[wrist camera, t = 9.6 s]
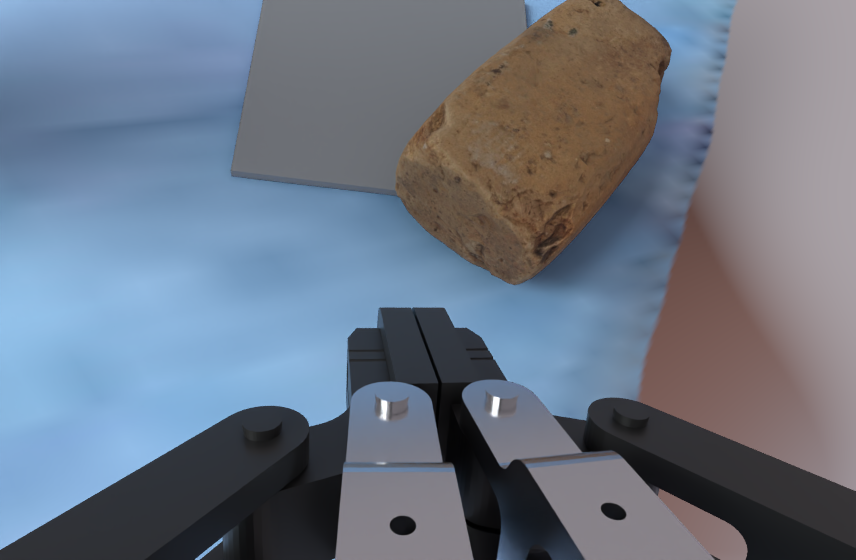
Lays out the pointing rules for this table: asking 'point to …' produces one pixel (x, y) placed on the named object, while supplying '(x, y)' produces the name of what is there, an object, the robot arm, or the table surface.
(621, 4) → the rough sandstone rock
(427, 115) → the mat
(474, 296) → the table surface
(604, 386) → the table surface
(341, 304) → the table surface
